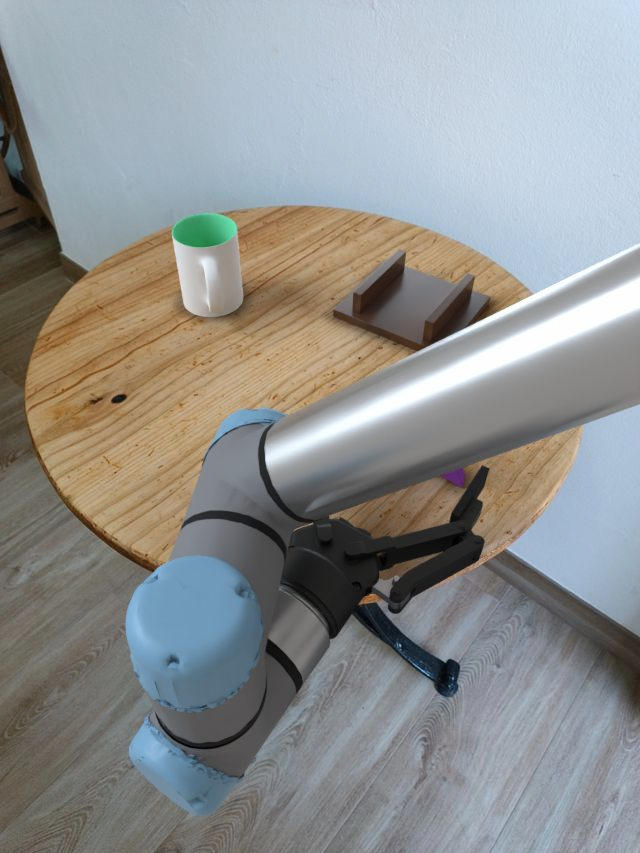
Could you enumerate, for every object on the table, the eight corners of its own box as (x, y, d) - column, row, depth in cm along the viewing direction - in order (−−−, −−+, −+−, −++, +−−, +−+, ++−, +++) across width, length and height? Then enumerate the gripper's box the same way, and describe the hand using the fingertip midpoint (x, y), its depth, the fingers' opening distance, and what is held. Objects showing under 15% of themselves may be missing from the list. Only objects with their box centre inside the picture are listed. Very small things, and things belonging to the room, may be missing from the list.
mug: (254, 329, 88) (249, 260, 81) (192, 340, 87) (180, 270, 79) (237, 277, 96) (230, 209, 89) (179, 286, 95) (167, 218, 87)
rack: (489, 303, 92) (495, 277, 89) (442, 361, 84) (447, 334, 81) (385, 266, 98) (387, 240, 95) (332, 316, 90) (333, 289, 87)
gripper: (181, 563, 62) (311, 421, 74) (429, 718, 53) (531, 526, 65) (168, 514, 57) (311, 370, 69) (443, 676, 47) (551, 476, 60)
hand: (418, 445), depth 67 cm, fingers open, 13 cm apart
